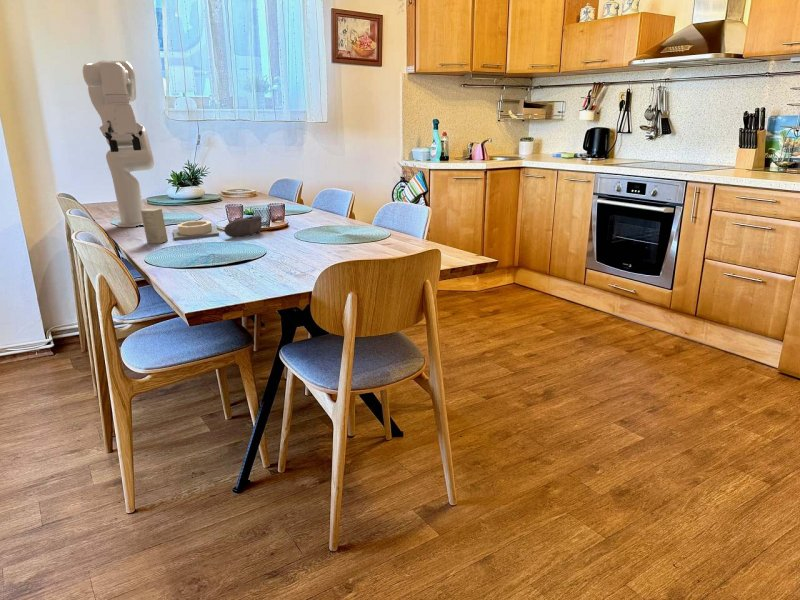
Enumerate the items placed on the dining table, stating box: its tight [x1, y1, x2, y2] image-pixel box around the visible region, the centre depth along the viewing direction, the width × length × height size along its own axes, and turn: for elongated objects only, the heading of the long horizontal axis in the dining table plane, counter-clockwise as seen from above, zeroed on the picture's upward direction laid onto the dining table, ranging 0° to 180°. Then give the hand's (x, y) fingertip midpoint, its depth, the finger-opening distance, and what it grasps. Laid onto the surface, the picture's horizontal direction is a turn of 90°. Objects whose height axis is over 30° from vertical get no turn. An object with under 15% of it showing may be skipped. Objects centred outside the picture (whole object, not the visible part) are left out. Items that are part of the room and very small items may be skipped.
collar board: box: [172, 220, 220, 241], centre depth 217 cm, size 16×16×4 cm
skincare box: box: [141, 207, 169, 244], centre depth 204 cm, size 6×4×12 cm
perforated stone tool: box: [224, 215, 263, 238], centre depth 212 cm, size 15×5×7 cm, turn 122°
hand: (126, 151), depth 201 cm, fingers open, 9 cm apart
